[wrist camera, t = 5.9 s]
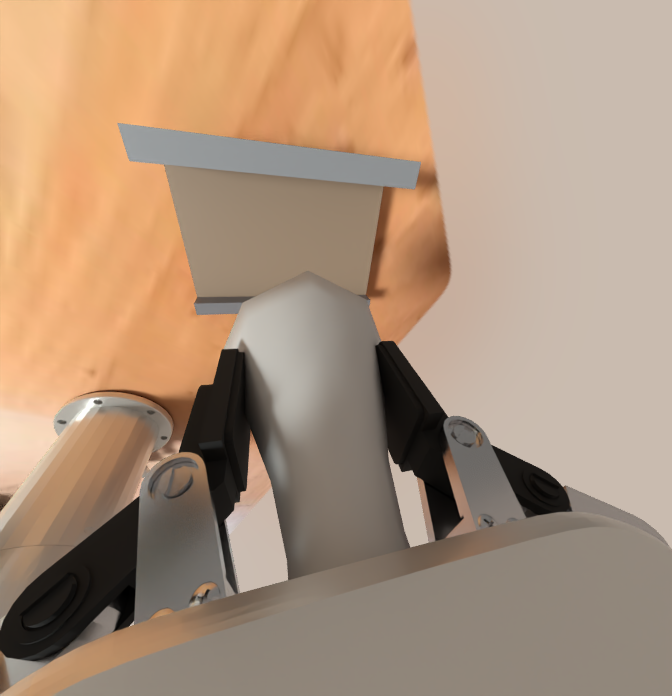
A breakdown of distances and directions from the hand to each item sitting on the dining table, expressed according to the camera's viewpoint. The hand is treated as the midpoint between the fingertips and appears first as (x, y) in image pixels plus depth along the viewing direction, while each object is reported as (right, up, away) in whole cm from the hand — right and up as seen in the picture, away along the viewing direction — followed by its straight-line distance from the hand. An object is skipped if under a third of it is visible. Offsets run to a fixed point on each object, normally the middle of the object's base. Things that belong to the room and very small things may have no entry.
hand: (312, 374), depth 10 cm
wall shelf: (-4, +12, +15) cm, 20 cm away
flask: (0, +1, +2) cm, 2 cm away
